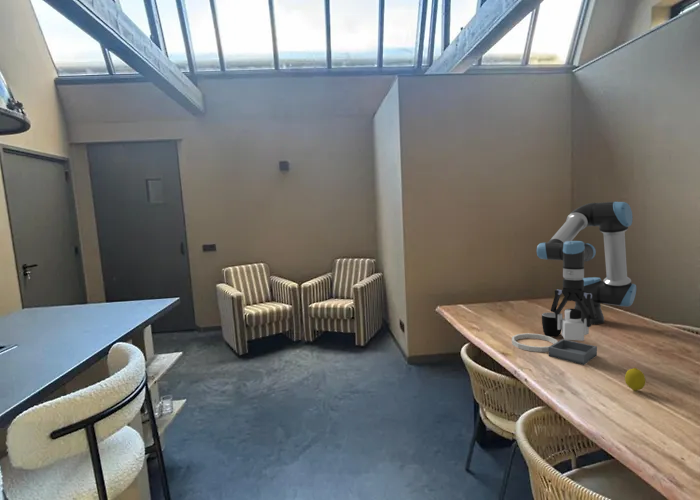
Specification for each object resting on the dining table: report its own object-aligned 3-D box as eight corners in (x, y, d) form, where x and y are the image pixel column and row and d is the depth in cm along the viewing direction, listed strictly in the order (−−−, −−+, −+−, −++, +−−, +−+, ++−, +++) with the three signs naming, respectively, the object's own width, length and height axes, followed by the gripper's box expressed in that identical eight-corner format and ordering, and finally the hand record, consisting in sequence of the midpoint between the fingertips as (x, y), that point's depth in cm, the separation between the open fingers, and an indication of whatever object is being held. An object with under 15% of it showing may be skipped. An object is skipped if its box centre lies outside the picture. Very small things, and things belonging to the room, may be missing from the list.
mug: (565, 338, 184) (565, 317, 183) (545, 338, 185) (545, 317, 184) (555, 330, 196) (555, 310, 195) (536, 330, 197) (536, 311, 196)
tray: (562, 347, 172) (562, 339, 171) (596, 355, 161) (597, 346, 161) (548, 356, 163) (548, 347, 163) (583, 365, 153) (584, 355, 152)
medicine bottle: (580, 335, 164) (580, 307, 162) (584, 341, 157) (584, 312, 156) (561, 334, 166) (561, 307, 165) (564, 339, 159) (564, 311, 158)
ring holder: (524, 334, 191) (524, 331, 191) (565, 343, 176) (565, 339, 176) (504, 344, 179) (504, 340, 179) (546, 355, 165) (546, 350, 164)
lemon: (620, 387, 133) (621, 365, 132) (635, 386, 134) (636, 364, 133) (633, 395, 128) (634, 372, 127) (649, 393, 128) (650, 370, 127)
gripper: (541, 277, 165) (541, 328, 167) (600, 282, 148) (599, 339, 150) (549, 274, 170) (549, 324, 172) (607, 280, 153) (606, 335, 155)
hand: (572, 331), depth 161 cm, fingers closed on medicine bottle, 9 cm apart
